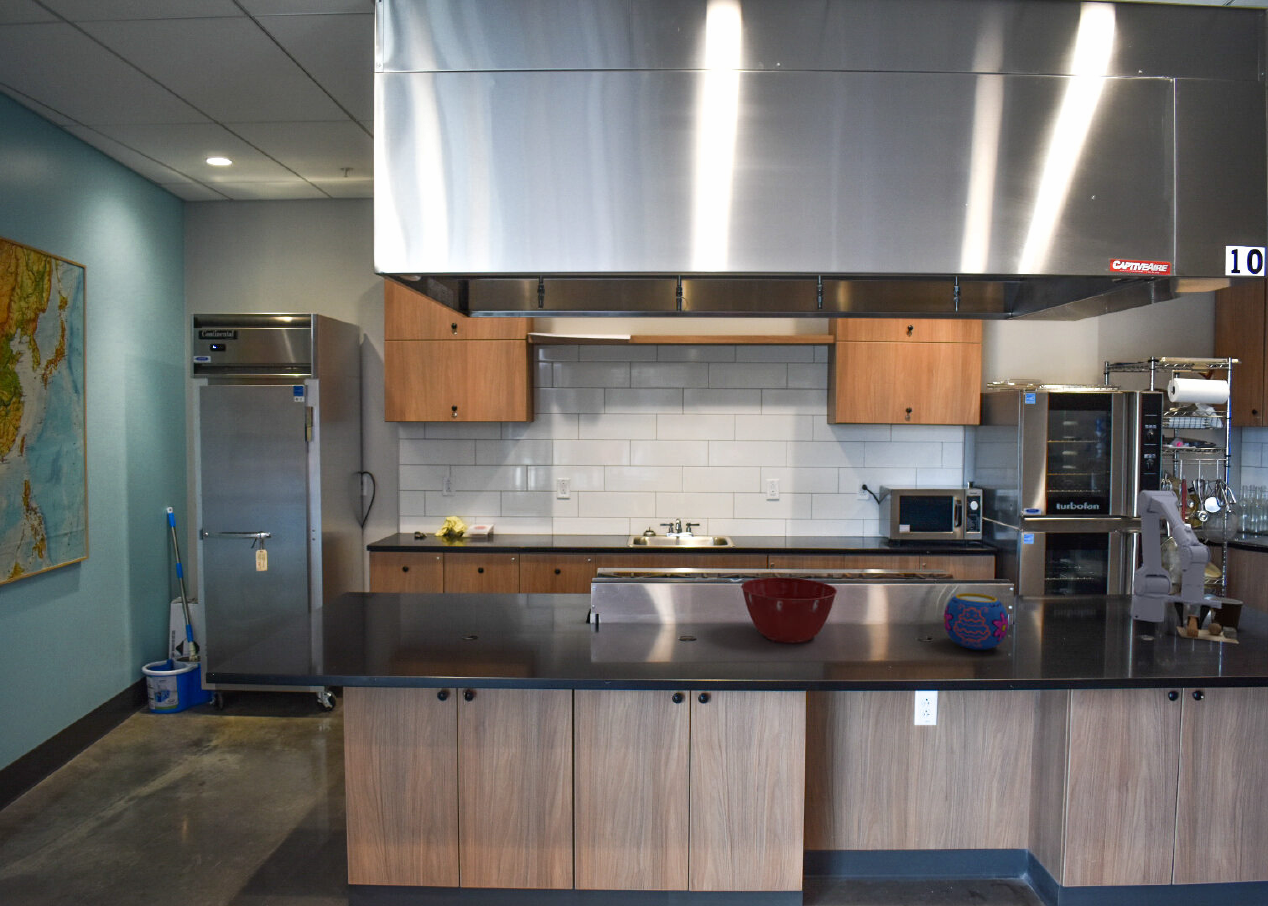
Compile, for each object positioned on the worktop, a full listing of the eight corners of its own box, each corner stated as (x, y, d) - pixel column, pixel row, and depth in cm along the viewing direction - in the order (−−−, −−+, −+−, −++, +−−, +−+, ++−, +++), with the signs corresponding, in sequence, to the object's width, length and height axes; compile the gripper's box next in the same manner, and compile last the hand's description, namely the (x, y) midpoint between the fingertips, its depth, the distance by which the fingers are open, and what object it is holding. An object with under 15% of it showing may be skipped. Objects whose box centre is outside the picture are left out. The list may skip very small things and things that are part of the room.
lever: (1183, 625, 263) (1184, 607, 263) (1195, 627, 261) (1196, 608, 261) (1186, 635, 251) (1187, 616, 251) (1199, 637, 249) (1200, 618, 249)
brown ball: (1210, 622, 253) (1224, 625, 251) (1207, 621, 256) (1221, 624, 255) (1208, 634, 253) (1222, 637, 251) (1205, 632, 256) (1219, 635, 255)
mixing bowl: (837, 654, 232) (839, 600, 231) (736, 647, 238) (737, 594, 237) (833, 628, 260) (835, 580, 259) (743, 622, 265) (744, 575, 264)
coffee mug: (1240, 636, 256) (1242, 605, 255) (1207, 632, 261) (1208, 601, 260) (1241, 629, 265) (1242, 598, 265) (1208, 624, 270) (1210, 594, 270)
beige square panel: (1180, 639, 251) (1181, 628, 251) (1176, 629, 264) (1176, 619, 263) (1238, 646, 245) (1239, 635, 244) (1231, 635, 257) (1231, 625, 256)
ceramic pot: (1010, 645, 243) (1012, 595, 243) (1003, 660, 228) (1005, 607, 227) (948, 636, 252) (950, 587, 251) (937, 650, 237) (939, 599, 236)
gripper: (1164, 583, 251) (1162, 627, 252) (1222, 589, 243) (1220, 634, 244) (1164, 579, 257) (1162, 622, 258) (1221, 585, 249) (1219, 629, 250)
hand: (1190, 628), depth 251 cm, fingers open, 4 cm apart
